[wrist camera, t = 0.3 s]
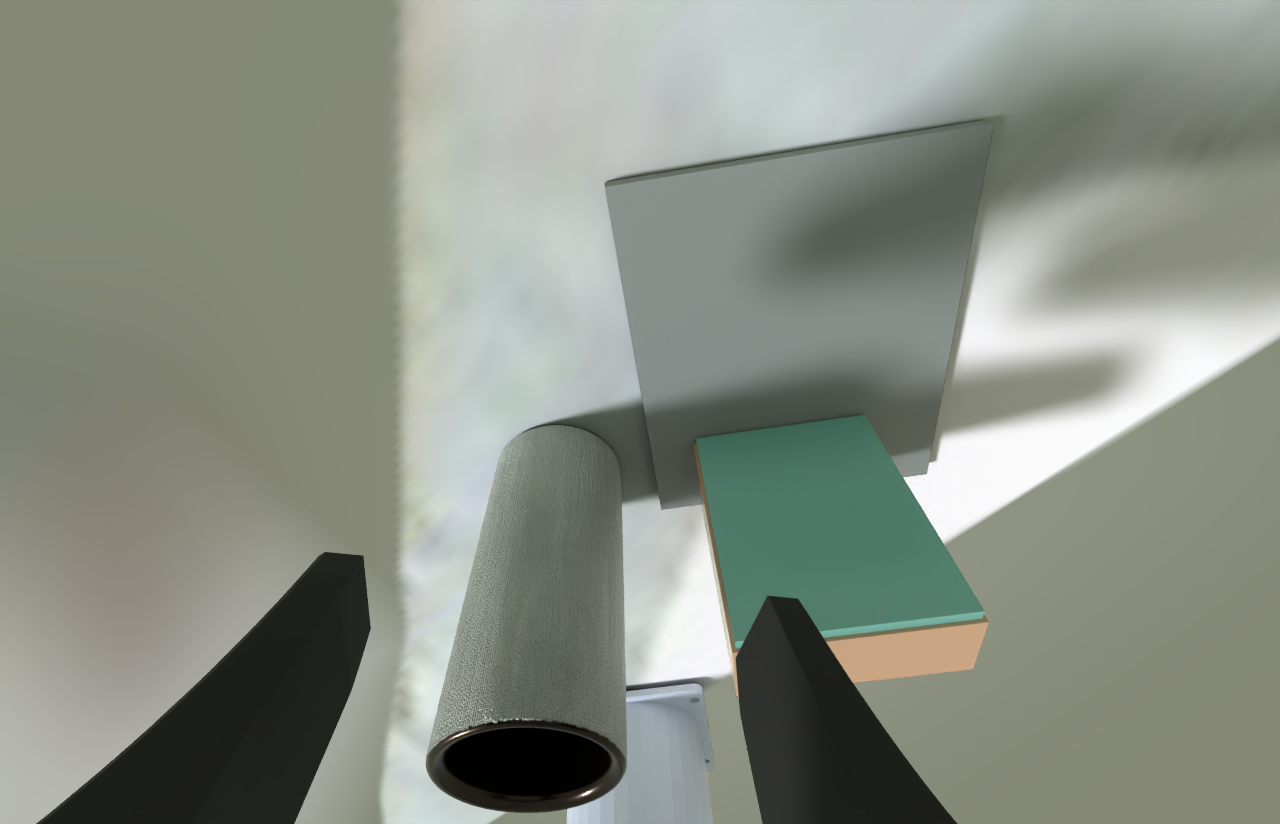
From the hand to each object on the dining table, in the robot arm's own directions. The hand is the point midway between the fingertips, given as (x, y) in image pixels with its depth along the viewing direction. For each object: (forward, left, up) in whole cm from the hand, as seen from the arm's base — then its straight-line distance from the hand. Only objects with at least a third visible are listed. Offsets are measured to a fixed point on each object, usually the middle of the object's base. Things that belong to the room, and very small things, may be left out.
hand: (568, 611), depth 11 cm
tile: (-5, -6, -9) cm, 12 cm away
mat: (-1, -7, -10) cm, 12 cm away
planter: (-5, +2, -10) cm, 11 cm away
